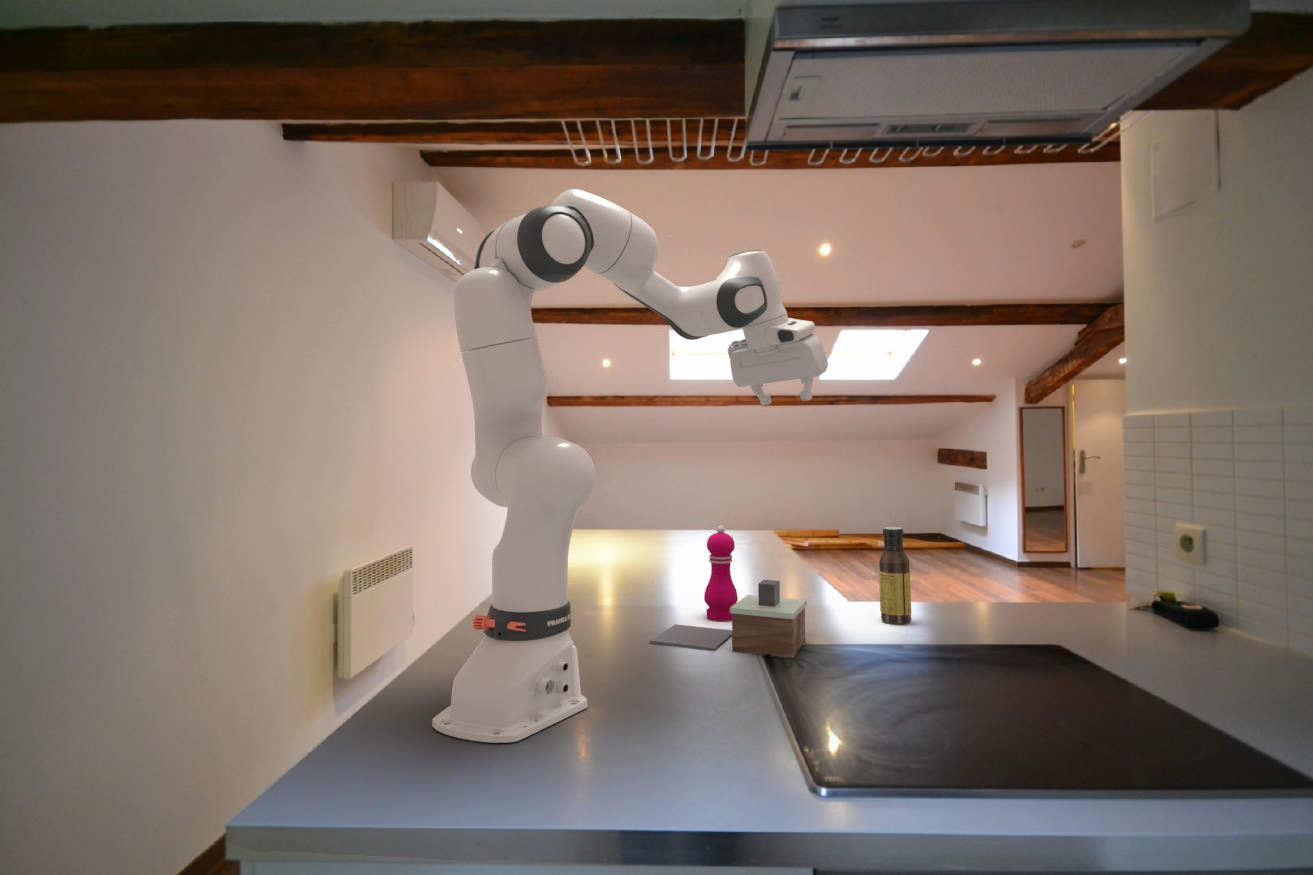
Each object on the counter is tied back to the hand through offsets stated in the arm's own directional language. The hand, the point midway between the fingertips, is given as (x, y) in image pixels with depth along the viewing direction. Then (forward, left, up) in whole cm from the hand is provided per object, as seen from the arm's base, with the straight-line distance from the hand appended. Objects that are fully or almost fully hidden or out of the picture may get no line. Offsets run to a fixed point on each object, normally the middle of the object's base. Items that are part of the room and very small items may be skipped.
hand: (786, 402), depth 138 cm
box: (-8, +2, -46) cm, 47 cm away
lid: (-8, +2, -40) cm, 41 cm away
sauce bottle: (+20, -18, -46) cm, 53 cm away
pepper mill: (+9, +17, -46) cm, 50 cm away
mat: (-8, +17, -46) cm, 49 cm away
